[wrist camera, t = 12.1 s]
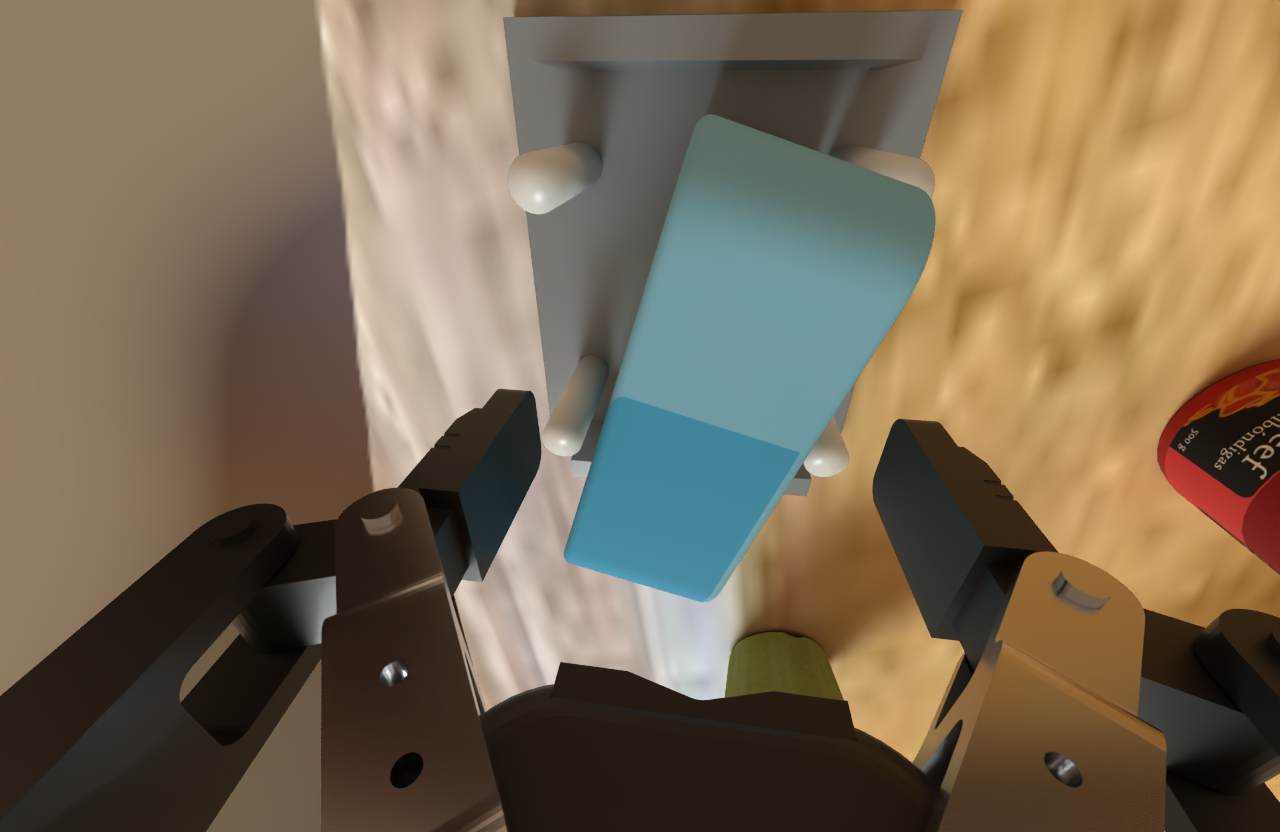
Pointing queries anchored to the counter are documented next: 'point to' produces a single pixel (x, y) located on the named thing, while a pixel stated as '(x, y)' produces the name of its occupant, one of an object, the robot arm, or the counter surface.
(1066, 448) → the counter surface
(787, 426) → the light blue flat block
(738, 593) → the counter surface
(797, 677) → the plant pot
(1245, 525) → the canned food
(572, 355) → the tray
